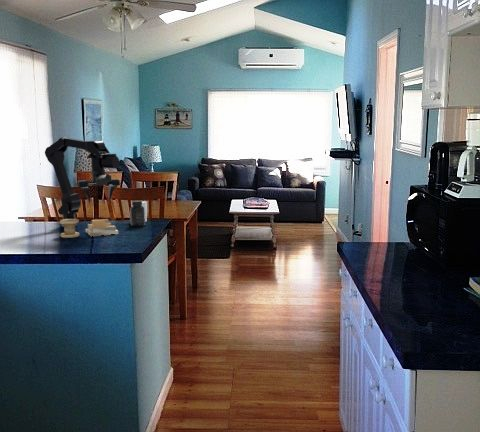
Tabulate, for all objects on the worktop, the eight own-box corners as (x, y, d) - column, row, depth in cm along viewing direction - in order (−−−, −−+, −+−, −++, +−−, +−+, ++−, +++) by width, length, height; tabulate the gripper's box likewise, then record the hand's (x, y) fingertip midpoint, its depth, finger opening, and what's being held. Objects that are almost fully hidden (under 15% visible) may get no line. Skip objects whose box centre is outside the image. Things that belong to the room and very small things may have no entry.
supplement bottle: (146, 224, 275) (145, 200, 273) (142, 226, 268) (142, 202, 266) (133, 224, 276) (132, 200, 274) (129, 226, 269) (128, 201, 267)
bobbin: (59, 235, 249) (58, 219, 248) (77, 233, 253) (76, 218, 251) (62, 238, 242) (61, 222, 241) (81, 236, 245) (80, 221, 244)
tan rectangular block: (92, 229, 253) (91, 220, 252) (107, 228, 256) (107, 218, 255) (93, 231, 250) (93, 221, 249) (109, 229, 253) (108, 220, 252)
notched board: (85, 232, 256) (85, 224, 255) (111, 229, 261) (111, 222, 261) (91, 236, 245) (90, 228, 245) (118, 234, 251) (118, 226, 250)
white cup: (132, 220, 286) (132, 201, 284) (148, 220, 287) (147, 200, 285) (131, 223, 278) (130, 203, 277) (147, 222, 279) (146, 203, 277)
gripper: (80, 170, 248) (82, 205, 251) (122, 168, 256) (123, 202, 259) (76, 168, 258) (77, 201, 260) (116, 166, 266) (117, 199, 269)
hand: (99, 201), depth 262 cm, fingers open, 9 cm apart
